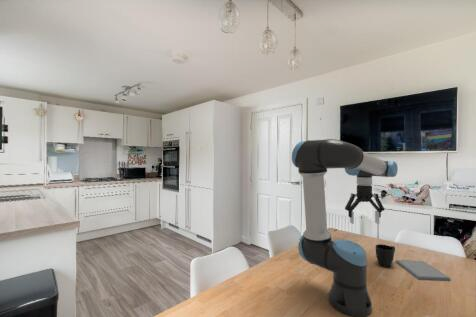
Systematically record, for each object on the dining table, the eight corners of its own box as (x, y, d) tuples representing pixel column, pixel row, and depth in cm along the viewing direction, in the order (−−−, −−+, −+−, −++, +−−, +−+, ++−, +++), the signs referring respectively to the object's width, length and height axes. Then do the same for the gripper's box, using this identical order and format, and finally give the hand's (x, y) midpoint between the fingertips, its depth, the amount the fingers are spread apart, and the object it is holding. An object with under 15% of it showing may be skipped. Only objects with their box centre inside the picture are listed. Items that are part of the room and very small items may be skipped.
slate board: (450, 280, 107) (450, 278, 107) (418, 279, 109) (418, 276, 109) (423, 263, 125) (423, 260, 125) (395, 262, 126) (395, 259, 126)
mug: (402, 265, 123) (402, 247, 123) (386, 269, 118) (386, 251, 118) (387, 259, 130) (387, 242, 130) (372, 263, 126) (372, 245, 125)
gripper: (383, 183, 131) (384, 221, 131) (338, 184, 132) (338, 221, 132) (391, 185, 123) (392, 225, 123) (343, 185, 125) (344, 225, 125)
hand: (364, 223), depth 128 cm, fingers open, 13 cm apart
